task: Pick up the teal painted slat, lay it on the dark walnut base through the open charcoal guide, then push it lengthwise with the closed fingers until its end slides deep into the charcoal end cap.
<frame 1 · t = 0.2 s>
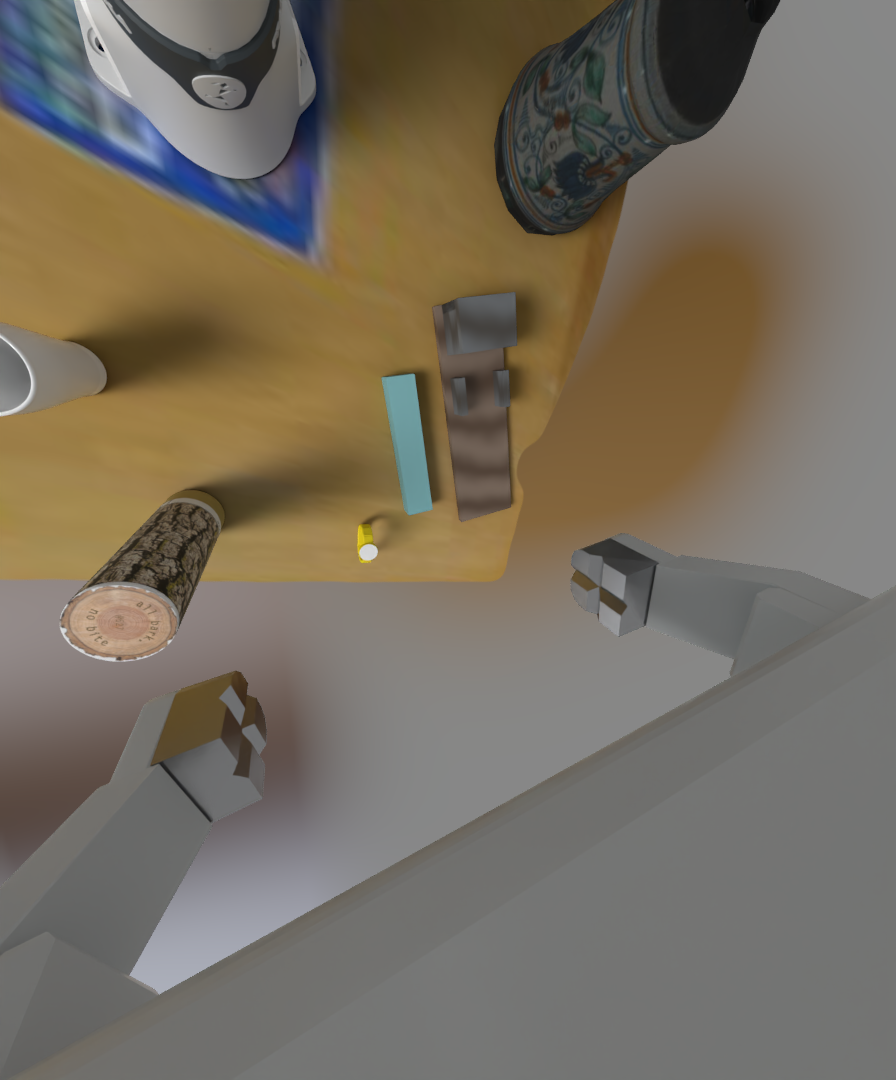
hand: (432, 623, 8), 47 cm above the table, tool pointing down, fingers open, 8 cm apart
drinking glass: (77, 369, 38), on the table
watch: (361, 536, 58), on the table
brown bark cylinder: (196, 512, 48), on the table
beer stein: (549, 146, 46), on the table
end-cap base: (476, 421, 57), on the table
slat: (405, 446, 55), on the table
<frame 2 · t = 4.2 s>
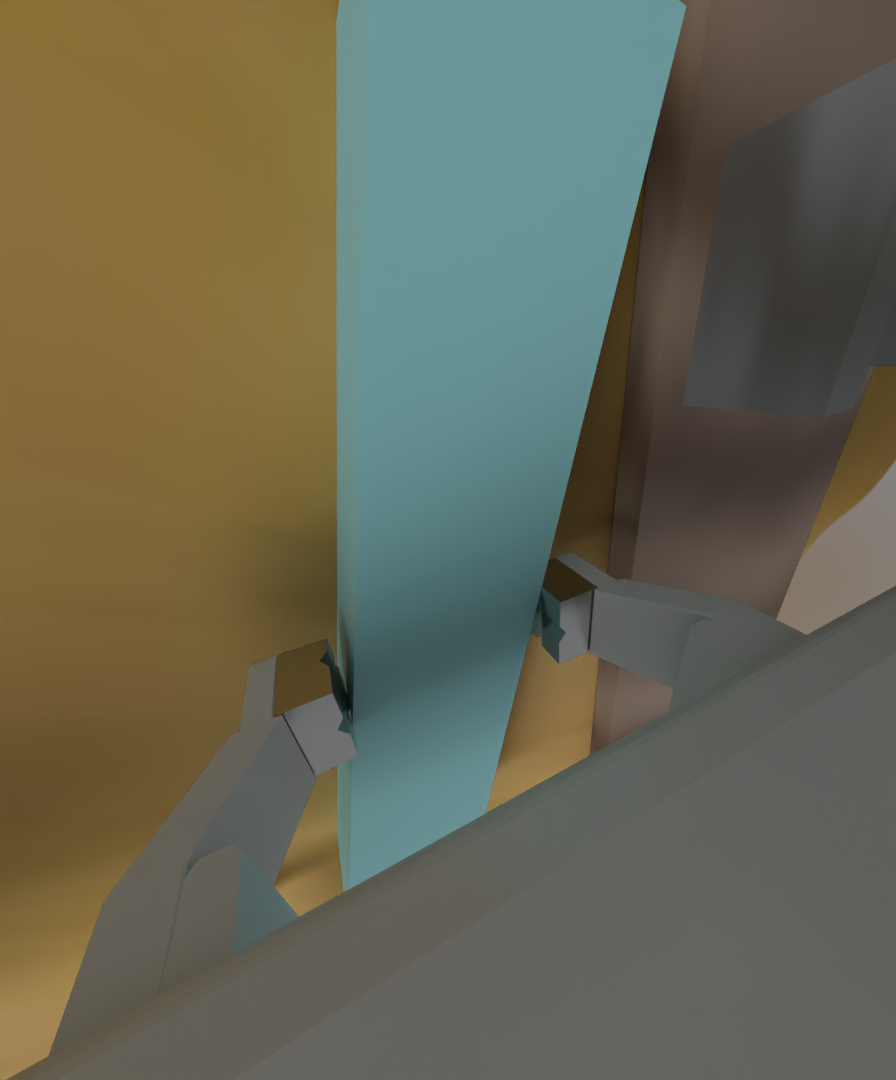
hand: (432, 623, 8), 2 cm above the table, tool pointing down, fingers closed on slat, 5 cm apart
end-cap base: (730, 442, 12), on the table
slat: (409, 584, 10), on the table, touching gripper
when the fingers open (4 cm above the table, at t = 10.1 s): slat drops 2 cm, point 1 cm above the table.
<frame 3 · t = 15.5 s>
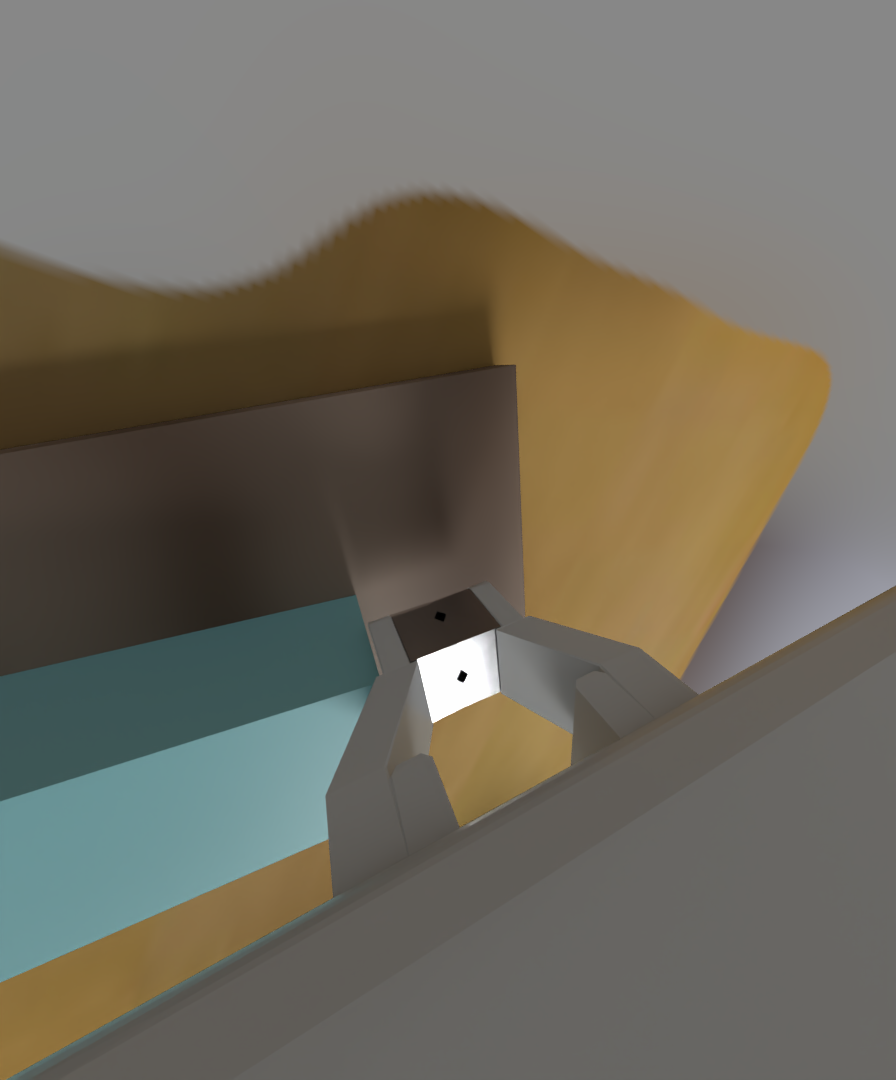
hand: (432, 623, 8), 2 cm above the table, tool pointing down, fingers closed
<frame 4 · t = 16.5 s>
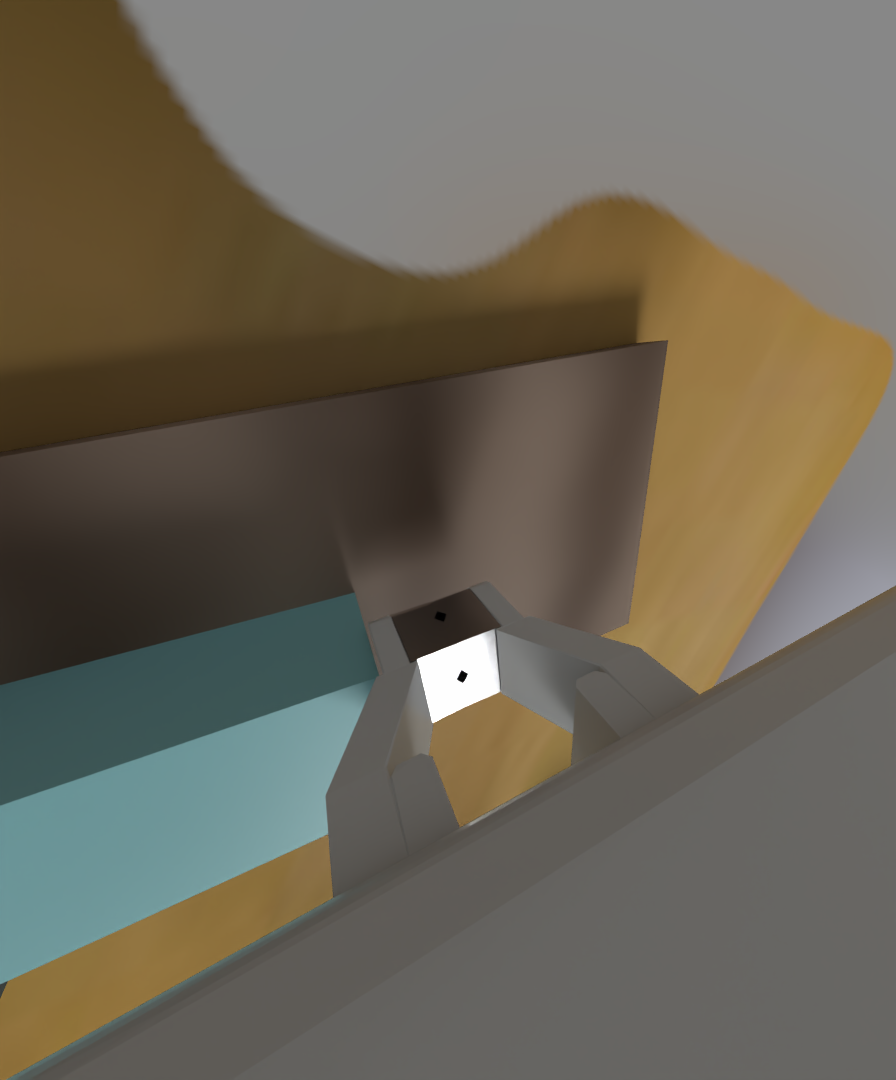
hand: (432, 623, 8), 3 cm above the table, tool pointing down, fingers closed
end-cap base: (90, 671, 8), on the table
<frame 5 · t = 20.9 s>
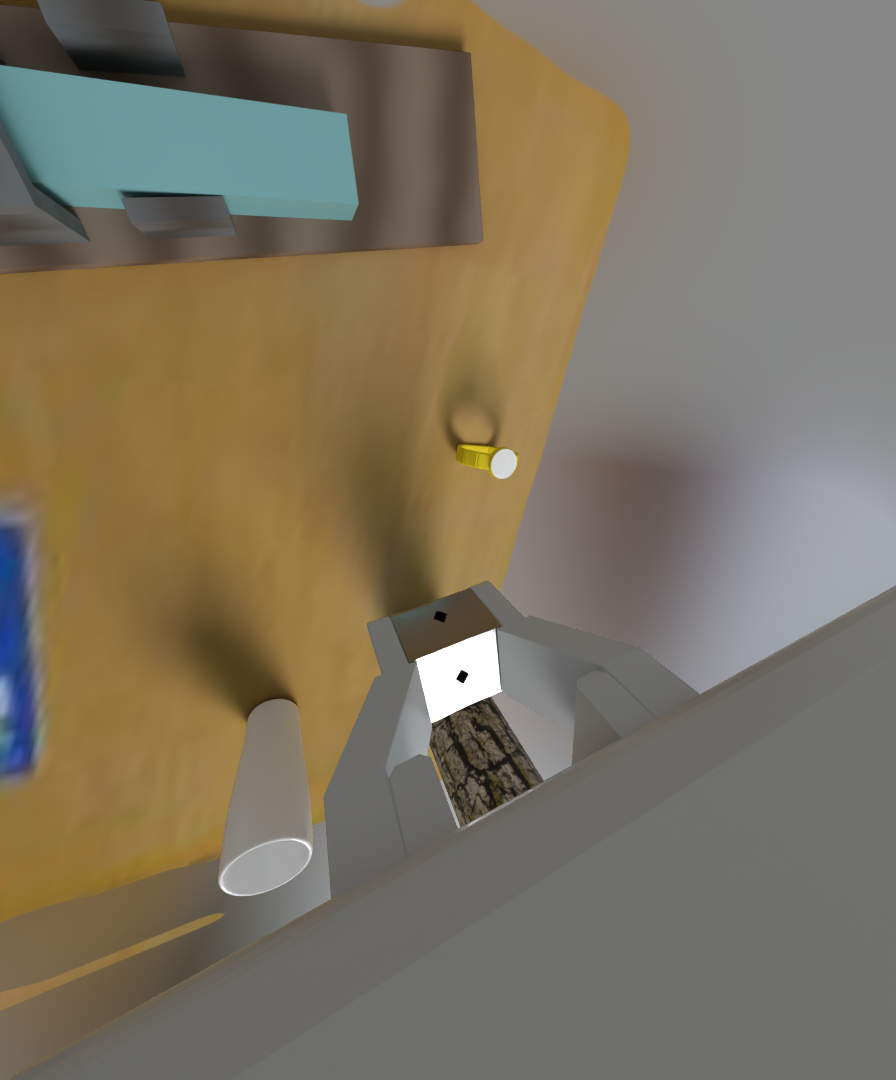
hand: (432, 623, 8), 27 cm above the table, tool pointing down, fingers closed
drinking glass: (274, 712, 41), on the table
watch: (474, 451, 37), on the table
brown bark cylinder: (416, 630, 44), on the table
end-cap base: (246, 159, 23), on the table
slat: (176, 168, 21), point 1 cm above the table, touching end-cap base
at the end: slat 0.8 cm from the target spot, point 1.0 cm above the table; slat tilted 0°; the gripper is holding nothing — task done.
